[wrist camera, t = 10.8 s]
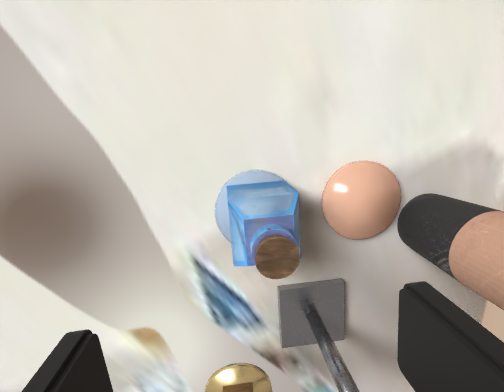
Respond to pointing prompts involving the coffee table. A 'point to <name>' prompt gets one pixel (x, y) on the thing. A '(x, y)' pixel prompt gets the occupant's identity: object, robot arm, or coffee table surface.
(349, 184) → the peach glossy round dome
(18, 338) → the coffee table surface
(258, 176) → the pale blue dome
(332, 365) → the balance
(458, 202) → the travel mug
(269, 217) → the perfume bottle
